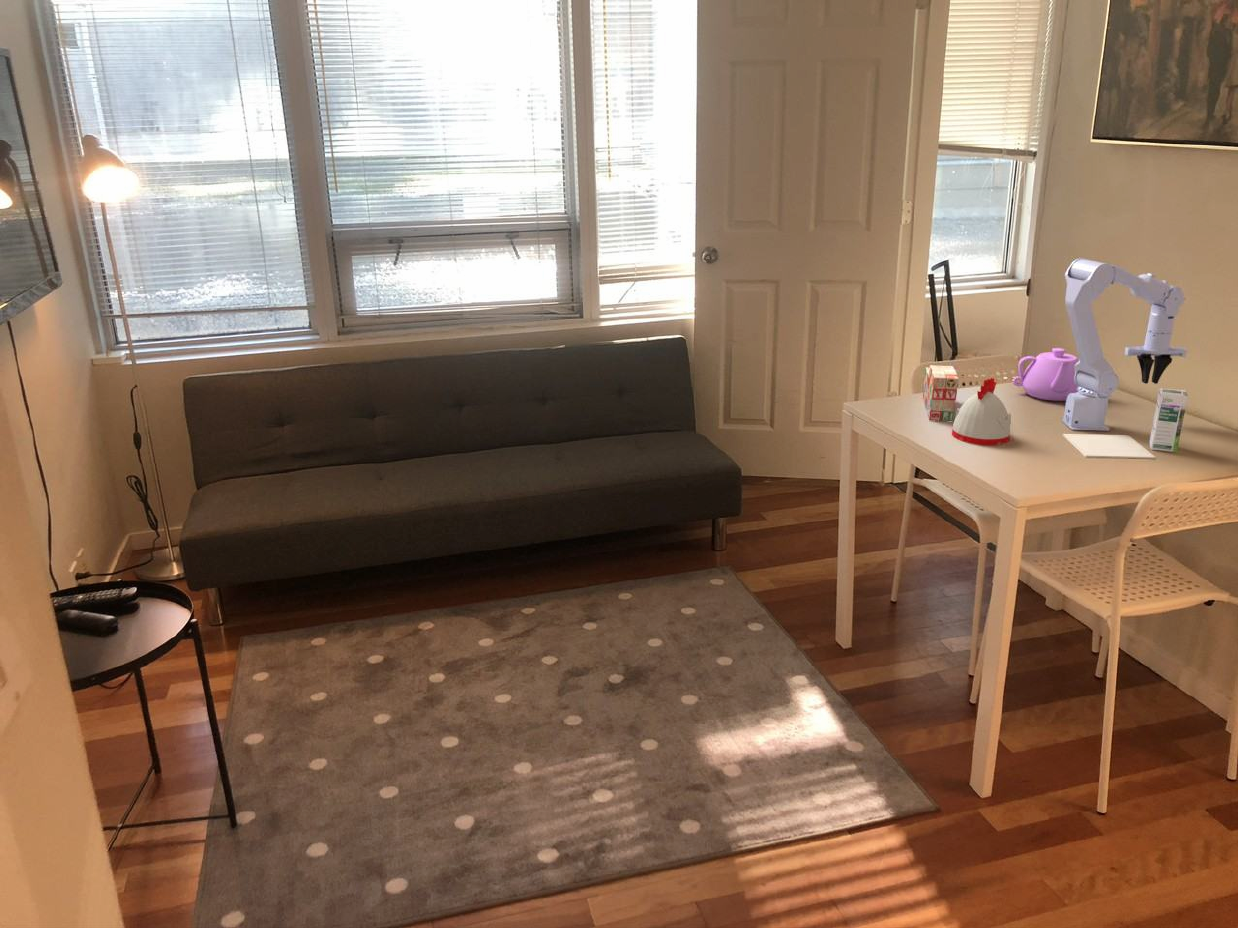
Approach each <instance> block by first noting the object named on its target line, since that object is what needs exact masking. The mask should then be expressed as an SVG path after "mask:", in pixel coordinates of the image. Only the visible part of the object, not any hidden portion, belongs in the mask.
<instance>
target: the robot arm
mask: <svg viewBox="0 0 1238 928" xmlns="http://www.w3.org/2000/svg"><path fill="white" fill-rule="evenodd" d="M1064 278H1065V282H1066V290H1065V291H1066V292H1065V299H1064V300H1065V301H1064V303H1065V307H1066V311H1067V316H1068V319H1069V320H1068V321H1069V323H1070V328H1071V331H1072V335H1073V339H1074V342H1075V347H1076V348H1075V349H1076V352H1077V354H1078V355H1077V356H1078V360H1080V361H1079V362H1077V363H1076V365H1075V366H1074V368H1075V375H1074V382H1075V384H1076V385H1077V386H1078V387H1077V390H1078V391H1079V392H1076V393H1070V394H1069V395H1068V397H1067V400H1066V401H1065V407H1064V412H1063V419H1061V421H1062V423H1064V424H1065V425H1066V426H1067V427H1068V428H1069V429H1071V430H1073V431H1105V432H1106V431H1107V432H1108V431H1110V428H1109V427H1108V426H1107V425H1106V424H1105V421H1106V415H1107V410H1108V404H1109V398H1110V397H1112V395H1113V394H1114V393H1115V392H1116V391H1117V390H1118V387H1119V383H1120V378H1119V376H1118V374H1117V373H1116V372H1115V370H1114V367H1113V366H1112V365H1111V364H1110V363H1109V362H1108V361H1107V359H1106V358H1105V357H1104V354H1103V353H1104V352H1103V348H1102V345H1101V340H1100V337H1099V336H1100V335H1099V332H1098V328H1097V324H1096V320H1095V315H1094V311H1093V308H1092V307H1093V306H1092V303H1093V302H1095V301H1096V300H1097V299H1099V297H1100V296H1101V295H1102V294H1103V293H1104V292H1105V291H1106V290H1107V289H1108V288H1109V287H1110V285H1114V284H1115V283H1116V284H1119V285H1121V286H1124V287H1125V288H1129V289H1130V290H1129V291H1130V293H1131V294H1132V296H1134V297H1136V298H1139V299H1141V300H1144V301H1146V302H1147V303H1148V304H1149V305H1151V308H1150V312H1149V318H1148V323H1147V330H1146V334H1145V339H1144V344H1143V345H1141V346H1126V347H1125V348H1124V349H1125V350H1124V355H1125V356H1127V357H1132V356H1134V357H1135V356H1136V358H1137V360H1138V361H1137V362H1138V364H1139V368H1140V371H1141V373H1140V374H1141V382H1142V383H1143V384H1145V385H1146V384H1148V383H1149V381H1150V375H1151V370H1152V368H1153V370H1152V376H1151V383H1153V384H1154V385H1158V383H1159V380H1160V379H1161V377H1162V375H1163V373H1164V372H1165V370H1166V369H1167V368H1168V367H1169V366H1170V364H1171V363H1172V362H1173V358H1172V357H1182V358H1186V356H1187V352H1188V349H1186V348H1184V347H1173V346H1172V347H1171V340H1172V335H1173V330H1174V329H1173V328H1174V325H1175V320H1176V317H1177V315H1178V313H1179V310H1180V308H1181V306H1182V305H1183V304H1184V302H1185V299H1186V297H1184V296H1185V295H1184V292H1183V291H1182V288H1181V287H1179V286H1175V285H1170V284H1169V281H1167V280H1164V279H1163V280H1160V279H1157V278H1156V275H1155V274H1152V273H1149V272H1148V273H1146V274H1145V273H1142V274H1140V275H1136V274H1134V273H1132V272H1130V271H1128V270H1126V269H1124V268H1122V267H1121V266H1119V265H1114V264H1110V263H1107V262H1100V261H1096V260H1095V261H1094V260H1089V259H1087V258H1083V257H1080V258H1076V259H1074V260H1073V261H1072V262H1071V263H1070V265H1069V266H1068V268H1067V270H1066V272H1065V273H1064ZM1153 358H1154V359H1153Z"/></svg>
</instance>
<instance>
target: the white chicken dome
mask: <svg viewBox="0 0 1238 928" xmlns="http://www.w3.org/2000/svg"><path fill="white" fill-rule="evenodd" d="M996 385H997V382H996V381H995V378H993V377H992V378H991V377H990V378H987V379H984V381H983V384H982V385H980V390H977V392H976V393H975V394H973V395H971V396H970V397H969V398H967V399H966V401H965V402H964V403H963V404H962V405H961V407H960V408H958V407H957V409H956V412H955V418H954V420H953V424H952V429H951V436H952V437H953V438H954V439H956V440H958V441H961V442H964V443H967V444H971V443H972V444H973V445H977V444H978V446H999V445H998V444H1000V445H1004V444H1006V443H1008V442H1009V441H1010V437H1011V424H1012V414H1011V413H1008V411H1007V409H1006V406H1005V404H1004V403H1003V401H1002V400H1001V399H1000V398H999V397H998V396H997V395H996V394H994V391H995V389H996ZM1003 443H1004V444H1003Z"/></svg>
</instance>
